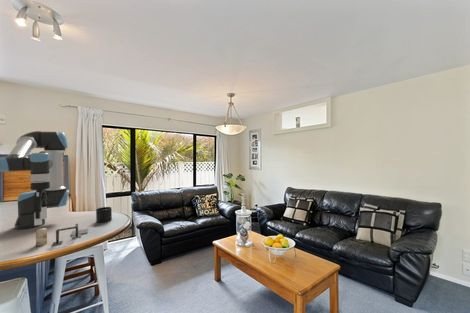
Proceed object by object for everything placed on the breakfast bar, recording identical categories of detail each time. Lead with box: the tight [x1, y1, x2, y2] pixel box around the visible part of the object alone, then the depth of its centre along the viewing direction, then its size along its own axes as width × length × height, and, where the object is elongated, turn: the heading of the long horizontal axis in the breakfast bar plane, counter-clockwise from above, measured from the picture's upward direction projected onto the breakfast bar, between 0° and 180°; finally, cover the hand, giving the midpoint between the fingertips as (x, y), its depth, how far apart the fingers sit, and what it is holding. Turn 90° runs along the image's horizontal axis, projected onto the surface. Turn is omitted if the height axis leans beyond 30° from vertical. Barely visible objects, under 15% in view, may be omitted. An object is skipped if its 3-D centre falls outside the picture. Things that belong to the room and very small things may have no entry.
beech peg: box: [35, 227, 48, 247], centre depth 112 cm, size 4×4×8 cm
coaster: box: [70, 228, 89, 237], centre depth 129 cm, size 8×8×1 cm
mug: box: [95, 206, 113, 224], centre depth 151 cm, size 9×12×9 cm
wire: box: [51, 223, 82, 247], centre depth 117 cm, size 10×12×8 cm
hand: (41, 221), depth 112 cm, fingers open, 13 cm apart
